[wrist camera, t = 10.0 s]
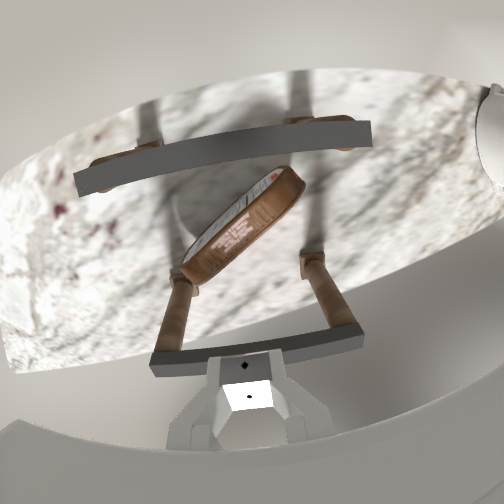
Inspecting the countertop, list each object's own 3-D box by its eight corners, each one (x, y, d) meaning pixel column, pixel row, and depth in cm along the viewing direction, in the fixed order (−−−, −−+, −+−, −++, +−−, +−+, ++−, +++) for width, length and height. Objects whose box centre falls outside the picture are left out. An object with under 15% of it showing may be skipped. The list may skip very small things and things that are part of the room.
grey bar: (359, 120, 15) (370, 120, 13) (361, 144, 16) (372, 146, 14) (85, 169, 15) (73, 173, 14) (90, 191, 16) (79, 197, 14)
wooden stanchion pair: (312, 116, 26) (362, 110, 15) (323, 272, 34) (359, 337, 23) (137, 146, 26) (79, 160, 15) (176, 295, 34) (157, 367, 23)
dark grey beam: (358, 322, 22) (364, 334, 20) (356, 335, 22) (362, 347, 21) (152, 352, 22) (148, 365, 20) (158, 364, 23) (155, 377, 21)
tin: (200, 263, 33) (191, 304, 25) (181, 246, 32) (166, 283, 24) (297, 177, 29) (319, 194, 21) (278, 155, 28) (295, 165, 20)
